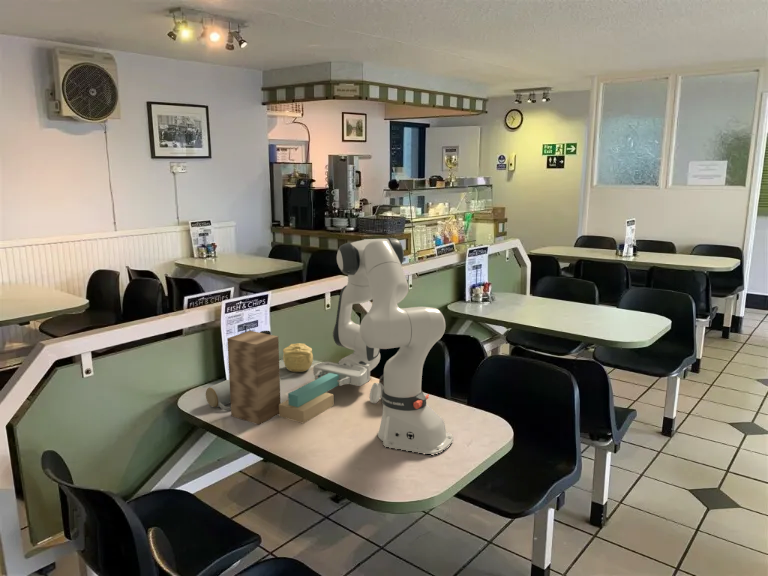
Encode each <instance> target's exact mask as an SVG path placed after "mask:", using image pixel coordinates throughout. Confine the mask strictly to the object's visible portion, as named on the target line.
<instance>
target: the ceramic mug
mask: <svg viewBox="0 0 768 576" xmlns="http://www.w3.org/2000/svg"><path fill="white" fill-rule="evenodd" d="M205 398H206V401H207V403H208V405H209V406H210V407H212V408H219V407H220V409H222V410H224V411H228V412H229V411H230V412H231V406H226V405H228V404H231V399H230V380H229V379H226V380H223V381H220V382H218V383H216V384H214V385H211V386H209V387H208V388H207V389H206V391H205Z"/></svg>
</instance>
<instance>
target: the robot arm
mask: <svg viewBox="0 0 768 576" xmlns="http://www.w3.org/2000/svg"><path fill="white" fill-rule="evenodd" d="M404 258H405V255H404V248H403V246H402V243H401V242H400V240H399V239H397V238H396V237H395V238H394V237H386V238H373V239H372V238H370V239H368V238H367V239H362V240H356V241H353V242H345V243H344V244H342V245H341V244H340V246H339V248H338V249H337V254H336V263H337V265H338V268H339V270H340V272H341V273H342V274H344V275H347V284H346V285H344V286H343V287H342V289H341V291H340V293H339V294H340V295H339V298H338V305H337V309H336V310H337V311H336V319H335V323H334V328H333V330H332V338H333V341H334V343H335V344H336V346H338V347H341V348H347V349H349V350H352V351H353V353H351V354H349V355H346V356H345V357H342V358H341V359H340V360H339V361H338V363H337V362H332V361H323V362H320V363H318V364H315V365H313V368H312V369H313V370H312V371H313V376H314V380H316V379H318V378H320V377H322V376H324V375H326V374H328V373H333V374H337V375H339V380H337V385H338V386H343V385H352V386H356V387H361V386H363V385H365V384H367V383H368V382H370V379H371V371H372V370H374V369H375V368H376V367H377V366H378V364H379V363H380V360H381V353H380V352H381V350H387V349H388V350H389V349H394V348H396V349H397V348H399V349H398V350H397V352H396V353H395V354H394V355H393V356H391V357H390V358H389V359H388V360H386V362H385V364H384V368H383V374H384V389H383V390H382V400H381V404H382V412H381V421H380V423H379V424H380V425H379V429H378V432H377V438H379V440H380V441H381V442H382V441H383V442H382V446H383V445H384V446H385V447H384V446H383V447H384V448H386V447H389V448H388V449H391V448H395V449H394V450H397V449H401V450H400V451H402V450H406V451H405V452H408V451H412V452H411V453H414V452H419V453H425V454H436V453H439V452H441V451H443V450H445V449H446V448H447V447H448V446H449V445H450V444H451V443H452V441H453V442H454V436H453V434H452V433H451V432H449V431H446V430H447V429H446V423H445V421H444V419H443V417H441V415H439V413H437V412H436V411H435V410H434V409H433V408H432V407H431V406H429V404H427V400H428V399H429V398H430V397H429V395H430V394H429V393H428V394H426V395H424V392H423V390H422V381H423V379H422V378H423V377H422V376H423V368H424V365H425V361H426V358H427V356H428V354H429V352H430V350H431V349H432V348H433V346H434V345H435V344H436V343H437V342H438V341H440V340H441V338H442V337H443V335H444V334H445V332H446V331H445V330H446V319H445V316H444V315H443V313H442V311H441V310H439V309H438V308H435V307H431V306H430V307H429V306H413V307H411V306H410V307H403V308H402V307H399V305H398V304H400V303H401V302H402V301H403V300H404V299H405V298H406V296H407V295H408V294H409V293H408V292H409V283H408V280H407V277H406V275H405V271H404V269H403V266H402V264H403V263H404ZM370 301H372V302H371V303H372V304H371V307H370V308H369V310H368V312H367V313H366V314H365V315H364V316H363V318H362V320H361V321H360V324H358V323H355V322H354V321H353V320H352V319H351V318H352V312H353V305H355V304H365V303H368V302H370ZM452 444H453V443H452ZM452 444H451V445H452ZM446 450H447V449H446ZM446 450H445V451H446ZM419 453H418V454H419ZM425 454H424V455H425Z"/></svg>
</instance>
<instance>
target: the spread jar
mask: <svg viewBox="0 0 768 576" xmlns="http://www.w3.org/2000/svg"><path fill="white" fill-rule="evenodd" d="M383 389H384V373H383V374H382V375H381V376H380V377H379V379H378V382H374V383H372V386H371V388H370V391H369V402H370V403H371V404H378V402H379V401H382V390H383Z"/></svg>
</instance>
